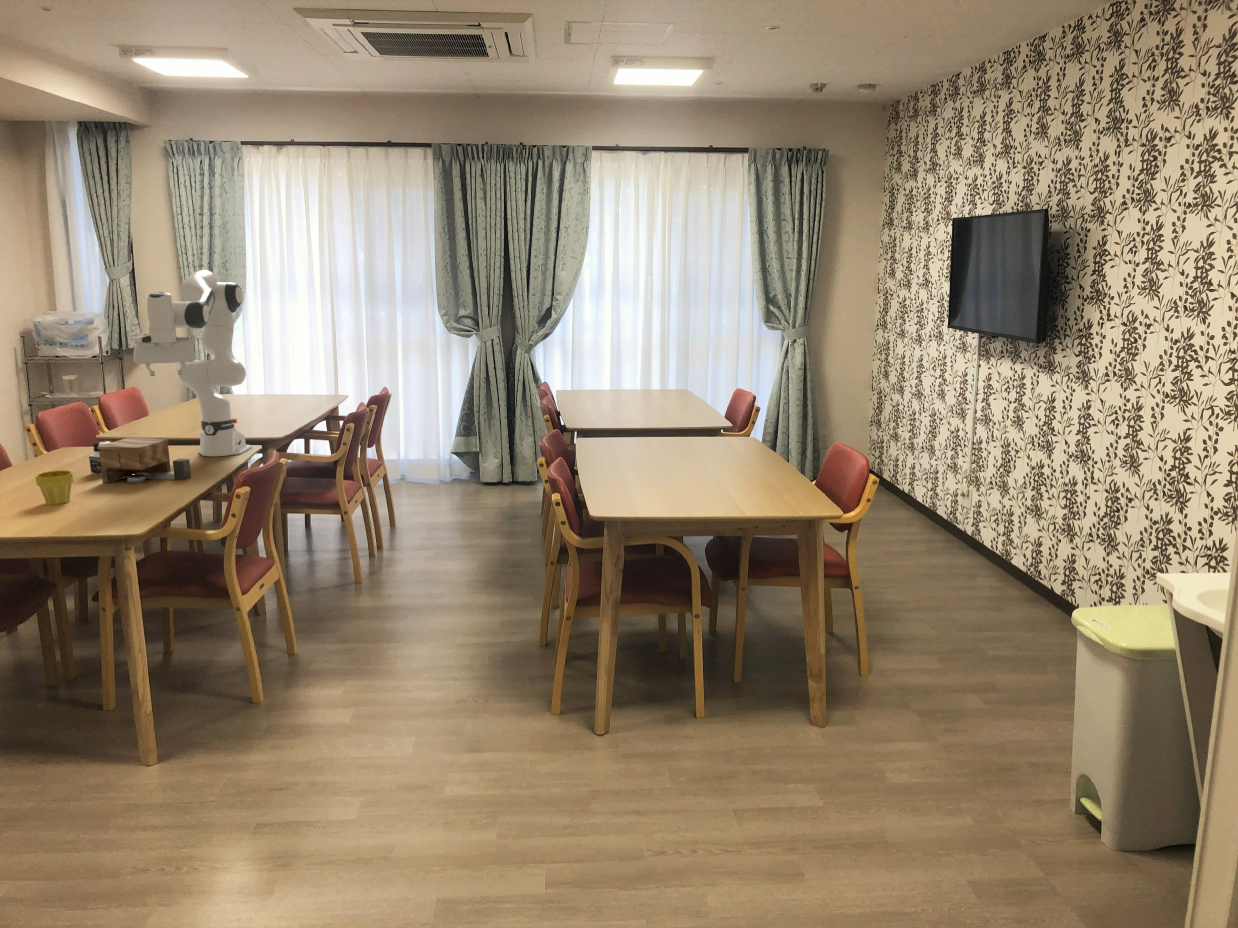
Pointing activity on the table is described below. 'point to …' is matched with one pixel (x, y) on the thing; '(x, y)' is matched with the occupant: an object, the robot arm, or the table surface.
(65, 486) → the plant pot
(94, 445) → the medicine bottle
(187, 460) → the grey mallet
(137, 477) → the steel puck
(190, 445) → the table surface
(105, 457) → the cabinet
